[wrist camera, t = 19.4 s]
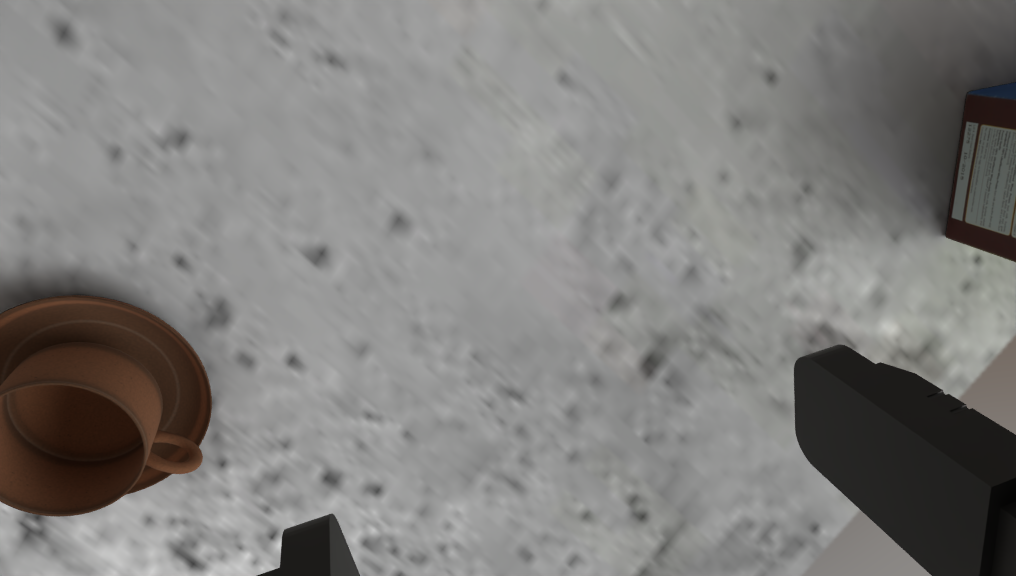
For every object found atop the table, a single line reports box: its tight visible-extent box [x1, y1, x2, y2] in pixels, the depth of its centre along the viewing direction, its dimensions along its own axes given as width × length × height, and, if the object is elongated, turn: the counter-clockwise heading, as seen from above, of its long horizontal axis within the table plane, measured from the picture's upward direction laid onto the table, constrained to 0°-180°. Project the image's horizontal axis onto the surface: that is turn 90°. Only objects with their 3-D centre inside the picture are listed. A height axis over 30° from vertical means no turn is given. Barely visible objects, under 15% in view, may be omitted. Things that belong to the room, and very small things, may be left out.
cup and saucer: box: [0, 295, 212, 516], centre depth 34 cm, size 12×12×6 cm
